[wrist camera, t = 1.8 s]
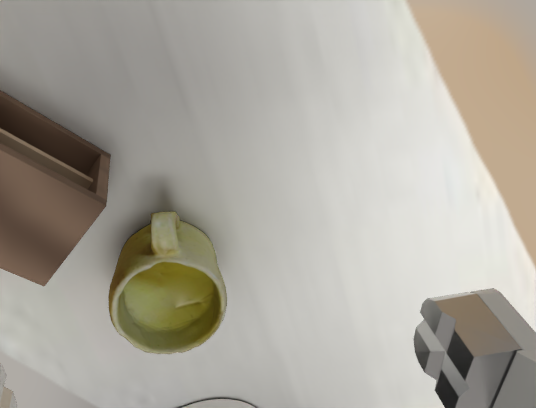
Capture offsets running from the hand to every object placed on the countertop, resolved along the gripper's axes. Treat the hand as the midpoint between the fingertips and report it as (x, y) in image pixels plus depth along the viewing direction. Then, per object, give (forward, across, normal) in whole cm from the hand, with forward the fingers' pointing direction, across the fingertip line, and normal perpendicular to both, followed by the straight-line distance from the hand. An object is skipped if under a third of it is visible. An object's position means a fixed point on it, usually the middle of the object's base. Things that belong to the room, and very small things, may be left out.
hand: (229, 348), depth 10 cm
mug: (+31, +1, +20) cm, 38 cm away
